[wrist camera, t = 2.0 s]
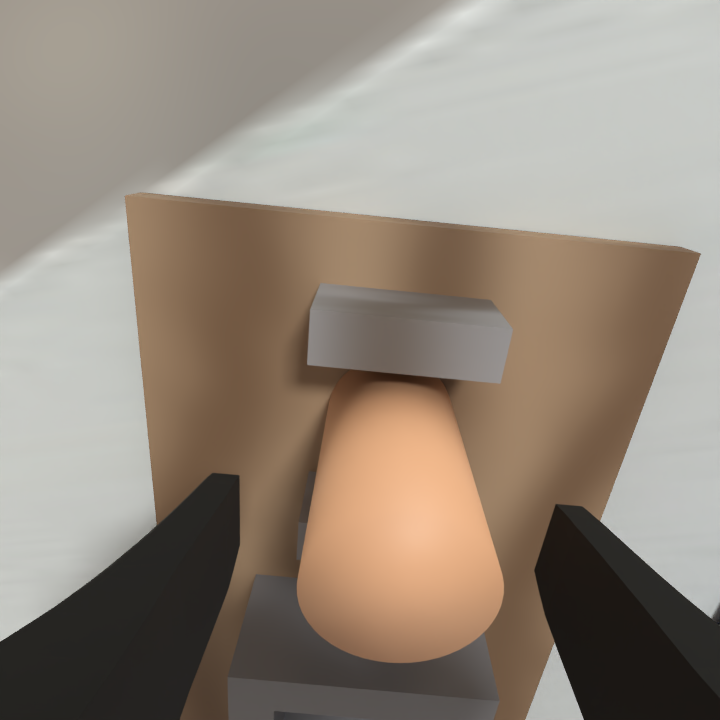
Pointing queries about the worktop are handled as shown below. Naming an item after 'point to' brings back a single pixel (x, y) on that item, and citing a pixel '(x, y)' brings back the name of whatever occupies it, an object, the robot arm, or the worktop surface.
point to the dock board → (391, 355)
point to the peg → (396, 526)
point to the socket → (343, 672)
